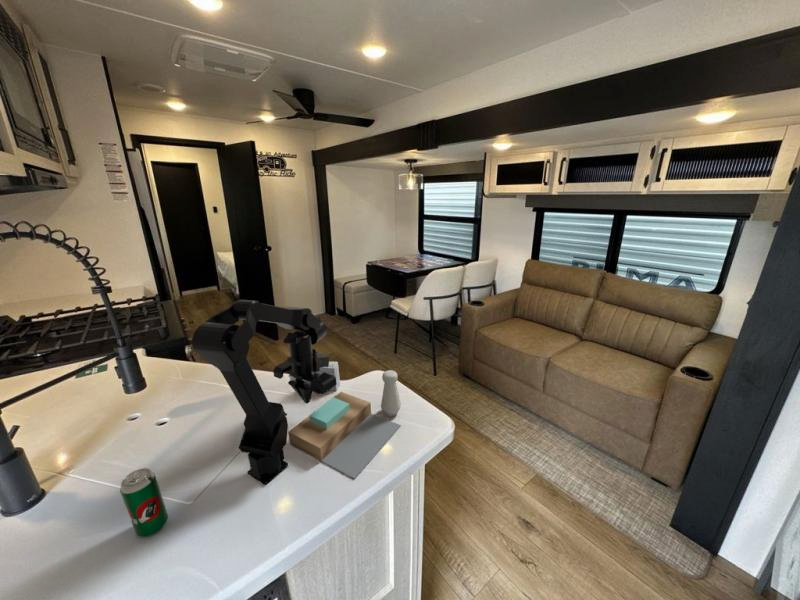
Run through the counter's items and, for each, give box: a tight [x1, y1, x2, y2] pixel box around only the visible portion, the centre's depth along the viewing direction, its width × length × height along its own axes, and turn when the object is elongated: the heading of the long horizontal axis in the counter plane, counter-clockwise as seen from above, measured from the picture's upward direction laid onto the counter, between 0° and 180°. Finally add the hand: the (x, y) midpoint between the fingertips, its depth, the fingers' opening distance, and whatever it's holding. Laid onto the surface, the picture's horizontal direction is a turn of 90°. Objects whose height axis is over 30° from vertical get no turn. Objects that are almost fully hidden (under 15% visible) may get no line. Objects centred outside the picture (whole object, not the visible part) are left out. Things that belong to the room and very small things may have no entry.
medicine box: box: [315, 361, 341, 392], centre depth 104 cm, size 8×4×9 cm, turn 84°
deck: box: [287, 391, 372, 463], centre depth 86 cm, size 20×11×4 cm, turn 149°
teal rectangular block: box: [308, 396, 350, 429], centre depth 85 cm, size 9×6×2 cm, turn 149°
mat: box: [321, 413, 402, 480], centre depth 81 cm, size 20×10×1 cm, turn 149°
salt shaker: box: [380, 369, 402, 418], centre depth 91 cm, size 6×6×13 cm
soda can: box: [119, 467, 169, 538], centre depth 59 cm, size 5×5×12 cm
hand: (307, 402), depth 89 cm, fingers closed
